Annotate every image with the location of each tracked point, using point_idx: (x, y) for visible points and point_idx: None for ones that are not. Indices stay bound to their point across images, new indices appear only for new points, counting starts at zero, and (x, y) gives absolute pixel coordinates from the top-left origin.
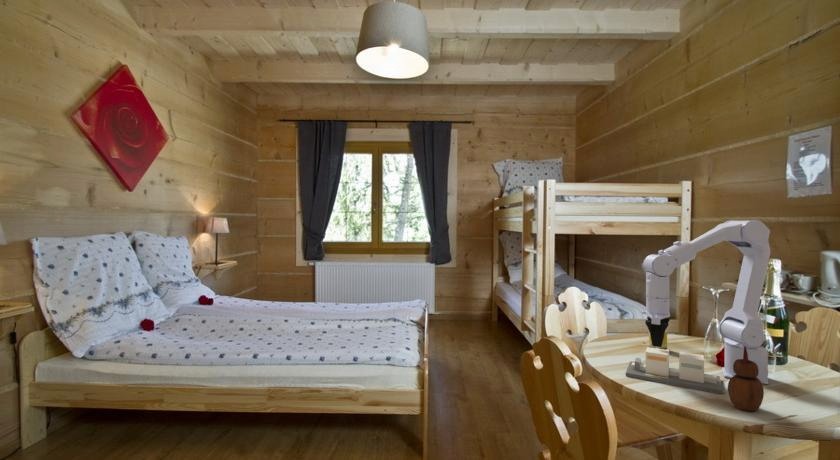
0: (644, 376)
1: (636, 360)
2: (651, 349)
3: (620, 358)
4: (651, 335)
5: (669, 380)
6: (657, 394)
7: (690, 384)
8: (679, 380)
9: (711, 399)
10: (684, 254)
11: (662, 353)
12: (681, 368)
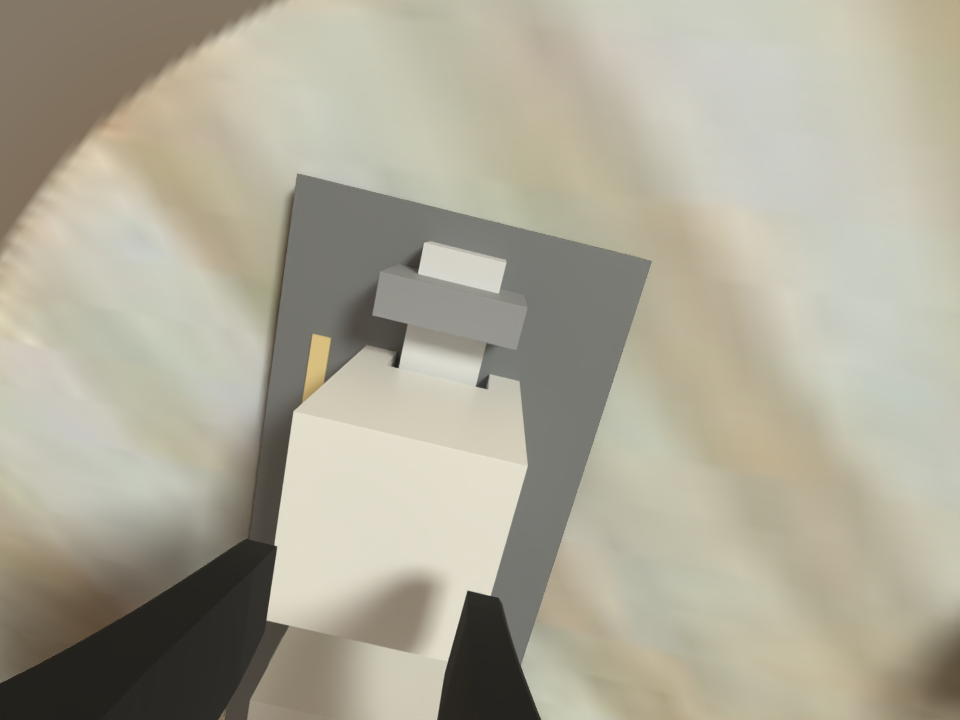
0: (277, 322)
1: (423, 295)
2: (426, 496)
3: (822, 185)
4: (84, 654)
5: (258, 482)
6: (31, 355)
7: None
8: None
9: None
10: None
11: (300, 578)
12: None
